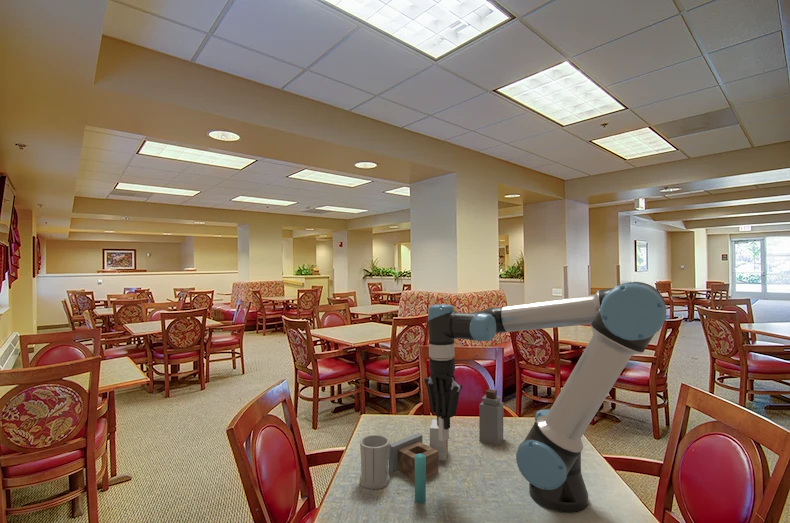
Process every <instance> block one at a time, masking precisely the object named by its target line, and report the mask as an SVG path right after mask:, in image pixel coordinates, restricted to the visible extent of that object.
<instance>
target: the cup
mask: <svg viewBox="0 0 790 523" xmlns="http://www.w3.org/2000/svg"><path fill="white" fill-rule="evenodd" d="M390 442H391V441H390V438H388V437H387V436H385V435H382V434H370V435H366V436H364V437H362V438H360V440H359V449H360V464H361V466H360V467H361V468H360V469H361V471H360V475H359V483H360V484H361V486H362V487H364V488H366V489H369V490H379V489H382V488H385V487H386V486H387V485H388V484H389V483H390V474H389V457H390V455H391V445H390V444H391V443H390Z"/></svg>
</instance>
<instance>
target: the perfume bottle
mask: <svg viewBox="0 0 790 523" xmlns="http://www.w3.org/2000/svg"><path fill="white" fill-rule="evenodd" d="M501 397H502V396H501V395H498V390H496V389H490V388H488V389H487V390H485V394H484V395H483V396H482V397H481V403H479V406H478V409H479V412H478V413H479V416H478V417H479V419H478V420H479V421H478V422H479V429H478V430H479V431H478V432H479V439H478V441H479V442H481V443H485V444H489V445H493V446H496V447H498V446H499V444H501V442H503V440H504V402H503V401H500V400H501Z"/></svg>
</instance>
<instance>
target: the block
mask: <svg viewBox="0 0 790 523" xmlns="http://www.w3.org/2000/svg"><path fill="white" fill-rule="evenodd" d="M419 453H421V454H424V455H426V479H428V478H430V477H432V476H433V475H435V474H438V473H439V466H440V465H439V464H440V463H439V461H440V460H439V451H438V450H435V449H433V448H431V447H430V445H427V444H425V443H423V442H422V443H421V442H419V441H417V442H415V443H413V444H410V445H408V446H405V447H403V448H400V449H398V471H397V472H399V473H401V474H402V475H404V476H406V477H408V478H409V479H411V480H412V481H414V482H415V455H416V454H419Z"/></svg>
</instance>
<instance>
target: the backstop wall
mask: <svg viewBox="0 0 790 523" xmlns="http://www.w3.org/2000/svg"><path fill="white" fill-rule="evenodd" d="M417 441H419V442H421V443H423V434H420V433H416V434H412V435H410V436H408V437H405V438H402V439H400V440H397V441H394V442H392V443H390V445H391V455H390V457H389V459H388V472H390V473H392V474H394V473H397V472H399V471H398V449H400V448H403V447H405V446H408V445H410V444H413V443H415V442H417Z"/></svg>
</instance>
